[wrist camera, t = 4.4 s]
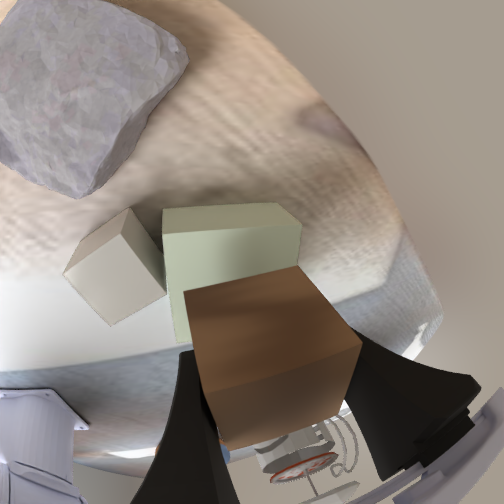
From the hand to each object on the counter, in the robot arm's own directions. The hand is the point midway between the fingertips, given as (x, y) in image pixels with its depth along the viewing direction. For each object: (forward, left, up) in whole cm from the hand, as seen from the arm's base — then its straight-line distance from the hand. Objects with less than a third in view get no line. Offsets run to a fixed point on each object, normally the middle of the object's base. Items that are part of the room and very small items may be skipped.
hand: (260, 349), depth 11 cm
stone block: (-8, +12, -9) cm, 17 cm away
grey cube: (-6, +2, -8) cm, 10 cm away
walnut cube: (0, 0, -2) cm, 2 cm away
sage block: (0, 0, -8) cm, 8 cm away
